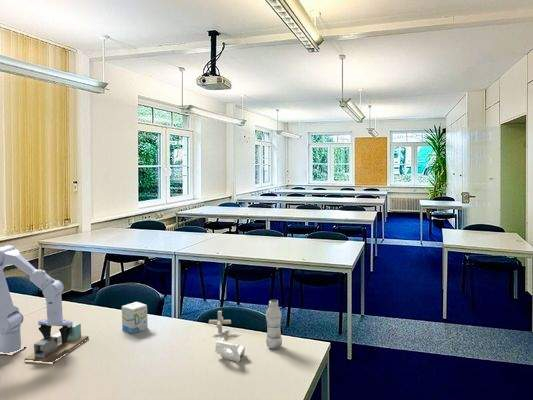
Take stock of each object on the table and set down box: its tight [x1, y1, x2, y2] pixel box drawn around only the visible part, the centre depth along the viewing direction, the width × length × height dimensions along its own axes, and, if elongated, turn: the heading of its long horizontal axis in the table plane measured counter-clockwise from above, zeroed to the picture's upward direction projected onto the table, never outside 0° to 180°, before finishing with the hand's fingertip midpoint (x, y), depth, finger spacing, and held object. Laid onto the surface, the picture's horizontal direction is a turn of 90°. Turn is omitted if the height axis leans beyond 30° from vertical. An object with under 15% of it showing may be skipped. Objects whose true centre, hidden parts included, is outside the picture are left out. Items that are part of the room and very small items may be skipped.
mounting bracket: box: [215, 337, 246, 362], centre depth 166 cm, size 12×6×11 cm, turn 62°
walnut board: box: [24, 335, 89, 362], centre depth 175 cm, size 12×24×2 cm, turn 170°
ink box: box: [121, 301, 149, 334], centre depth 196 cm, size 8×8×12 cm
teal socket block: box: [67, 322, 82, 340], centre depth 184 cm, size 6×4×6 cm
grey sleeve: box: [33, 336, 58, 359], centre depth 168 cm, size 5×8×6 cm, turn 170°
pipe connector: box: [208, 310, 232, 334], centre depth 191 cm, size 10×10×10 cm
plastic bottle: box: [265, 299, 283, 350], centre depth 174 cm, size 6×7×20 cm
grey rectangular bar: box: [39, 331, 62, 351], centre depth 172 cm, size 3×13×3 cm, turn 170°
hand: (56, 342), depth 174 cm, fingers open, 7 cm apart
